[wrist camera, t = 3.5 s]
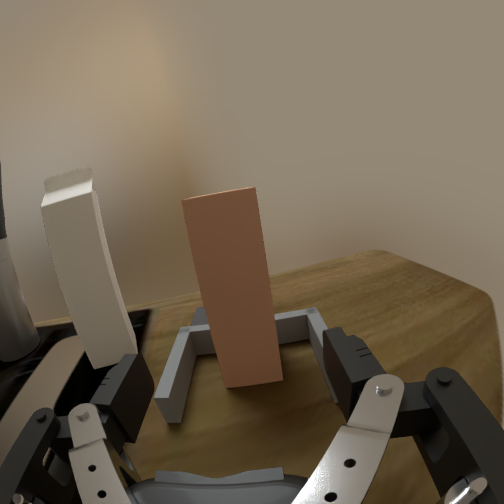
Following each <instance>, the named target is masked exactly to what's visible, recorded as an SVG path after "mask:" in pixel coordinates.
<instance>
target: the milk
mask: <svg viewBox="0 0 504 504" xmlns="http://www.w3.org/2000/svg"><path fill="white" fill-rule="evenodd" d="M44 183H45V191H46V193H45V196H44V199H43V202H42V205H41V210H42V216H43V222H44V227H45V231H46V236H47V241H48V245H49V249H50V253H51V257H52V261H53V264H54V268H55V271H56V275H57V278H58V281H59V284H60V287H61V291H62V294H63V296H64V299H65V302H66V305H67V308H68V311H69V313H70V316H71V318H72V321H73V324H74V326H75V328H76V331H77V333H78V336H79V338H80V340H81V342H82V345H83V347H84V349H85V351H86V354H87V356H88V358H89V360H90V362H91V364H92V366H93V368H94V369H98V368H102V367H105V366H109V365H113V364H117V363H119V362H120V360H121V359H122V357H123V356H124V355H125V354H138V350H137V344H136V338H135V334H134V331H133V328H132V325H131V323H130V320H129V317H128V314H127V311H126V308H125V305H124V302H123V299H122V296H121V293H120V289H119V286H118V283H117V279H116V276H115V272H114V269H113V265H112V261H111V257H110V253H109V249H108V245H107V241H106V237H105V232H104V227H103V223H102V218H101V213H100V207H99V202H98V196H97V192H96V189H95V186H94V182H93V179H92V172H91V168H90V167H89V166H87V167H83V168H80V169H76V170H73V171H69V172H66V173H62V174H60V175H56V176H53V177H50V178H47V179H45V182H44Z"/></svg>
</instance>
